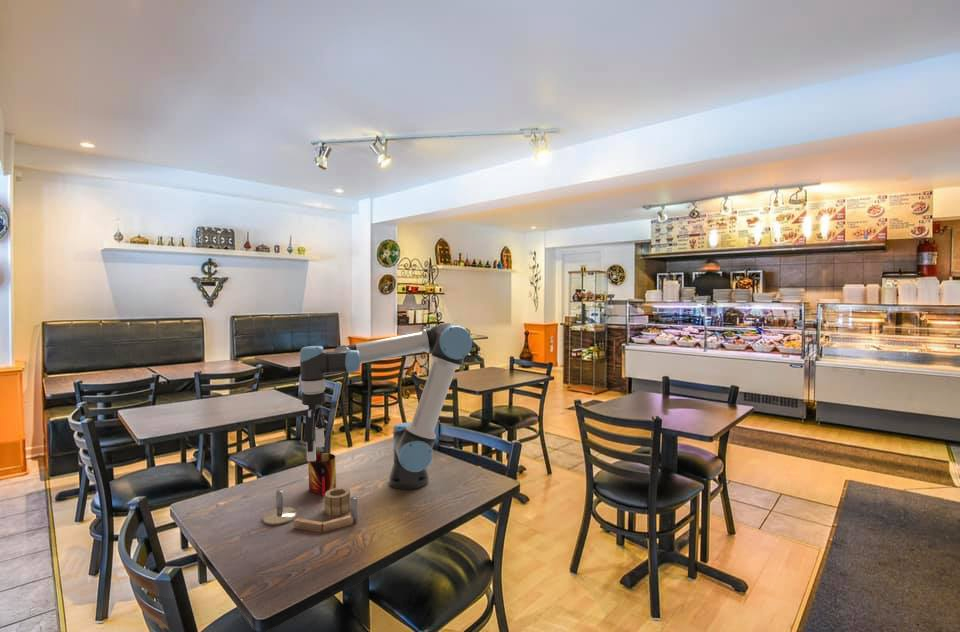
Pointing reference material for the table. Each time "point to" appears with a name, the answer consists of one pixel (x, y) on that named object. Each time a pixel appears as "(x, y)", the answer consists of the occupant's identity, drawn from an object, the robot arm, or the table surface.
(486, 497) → the table surface
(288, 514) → the peg stand
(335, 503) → the oak ring
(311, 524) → the bent hammer
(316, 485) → the mug
